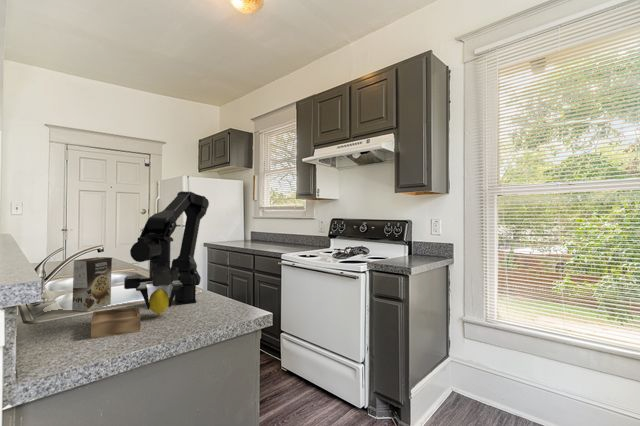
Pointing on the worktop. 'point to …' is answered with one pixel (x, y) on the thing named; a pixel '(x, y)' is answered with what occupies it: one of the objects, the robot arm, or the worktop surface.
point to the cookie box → (91, 283)
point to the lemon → (158, 301)
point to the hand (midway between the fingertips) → (158, 308)
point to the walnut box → (115, 322)
